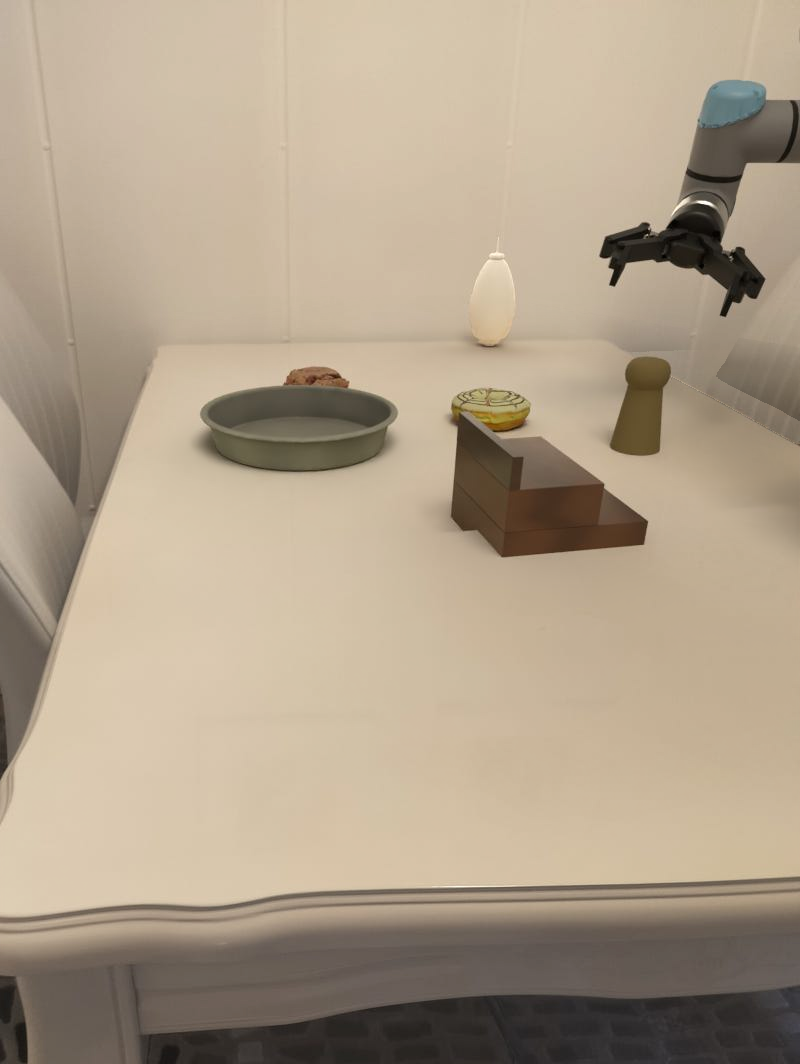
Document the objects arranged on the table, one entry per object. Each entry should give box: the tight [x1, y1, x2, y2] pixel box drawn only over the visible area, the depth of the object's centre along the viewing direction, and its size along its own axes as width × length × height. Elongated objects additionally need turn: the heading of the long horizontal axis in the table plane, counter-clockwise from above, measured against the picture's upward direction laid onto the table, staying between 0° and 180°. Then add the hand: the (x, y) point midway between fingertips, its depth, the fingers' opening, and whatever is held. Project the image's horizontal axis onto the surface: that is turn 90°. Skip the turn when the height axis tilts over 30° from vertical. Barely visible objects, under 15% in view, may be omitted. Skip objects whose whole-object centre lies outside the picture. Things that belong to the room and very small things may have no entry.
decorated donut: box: [450, 387, 532, 432], centre depth 124 cm, size 10×11×4 cm
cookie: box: [282, 365, 350, 388], centre depth 138 cm, size 10×11×3 cm
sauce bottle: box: [468, 236, 517, 347], centre depth 161 cm, size 8×8×18 cm
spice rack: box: [450, 412, 649, 558], centre depth 88 cm, size 14×14×11 cm
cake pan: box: [199, 384, 399, 471], centre depth 115 cm, size 25×25×4 cm
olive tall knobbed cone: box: [609, 356, 672, 456], centre depth 112 cm, size 6×6×11 cm
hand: (670, 290), depth 111 cm, fingers open, 13 cm apart
